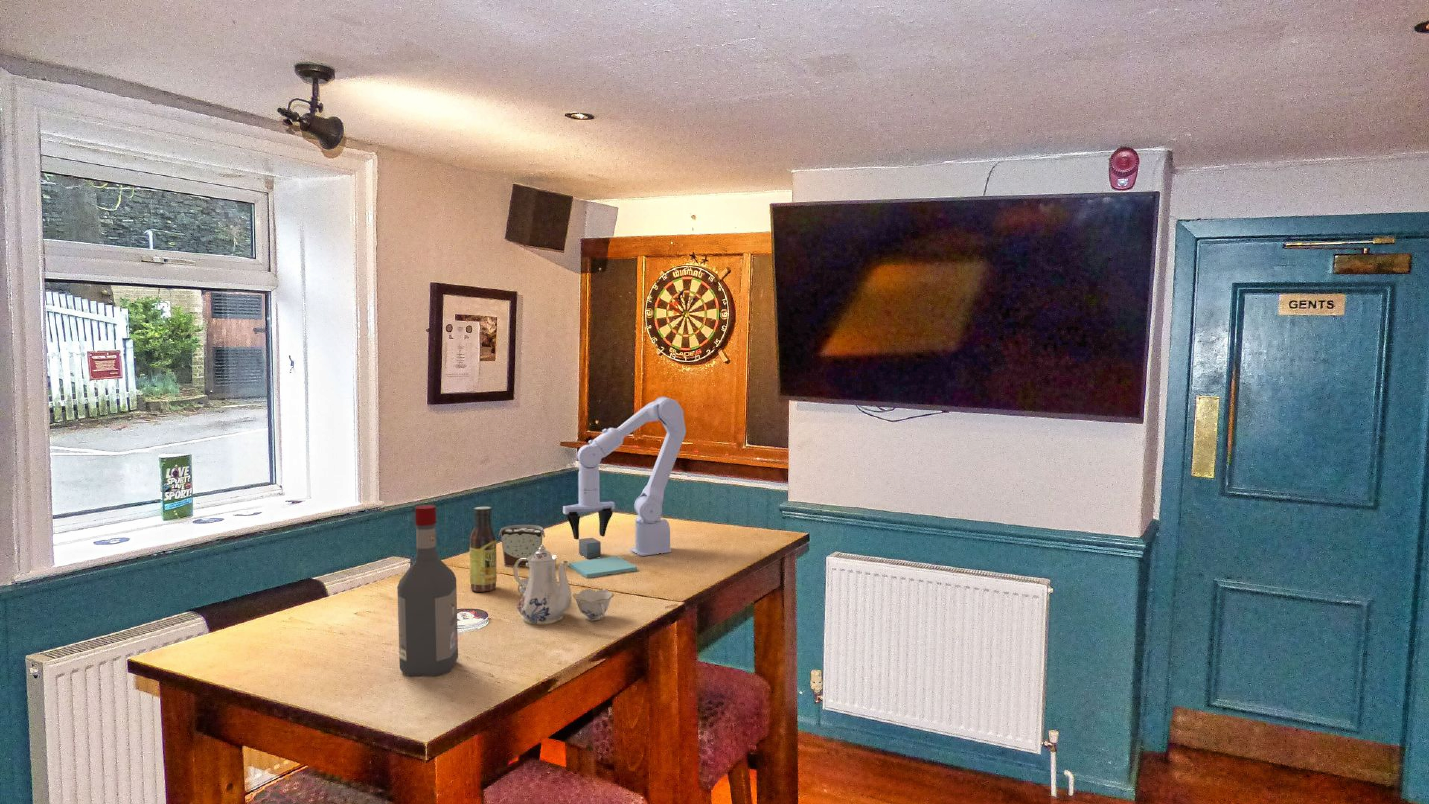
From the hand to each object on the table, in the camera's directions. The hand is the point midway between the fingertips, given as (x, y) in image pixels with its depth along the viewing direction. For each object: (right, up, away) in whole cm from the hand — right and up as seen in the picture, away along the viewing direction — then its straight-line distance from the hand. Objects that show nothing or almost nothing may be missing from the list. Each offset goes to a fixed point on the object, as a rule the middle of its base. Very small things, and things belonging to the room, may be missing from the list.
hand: (589, 537), depth 242 cm
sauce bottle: (-21, -8, -31) cm, 38 cm away
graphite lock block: (0, -5, 0) cm, 5 cm away
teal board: (+5, -6, -13) cm, 15 cm away
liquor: (-18, -12, -81) cm, 84 cm away
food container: (-16, -6, -8) cm, 19 cm away
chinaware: (-1, -10, -50) cm, 51 cm away
